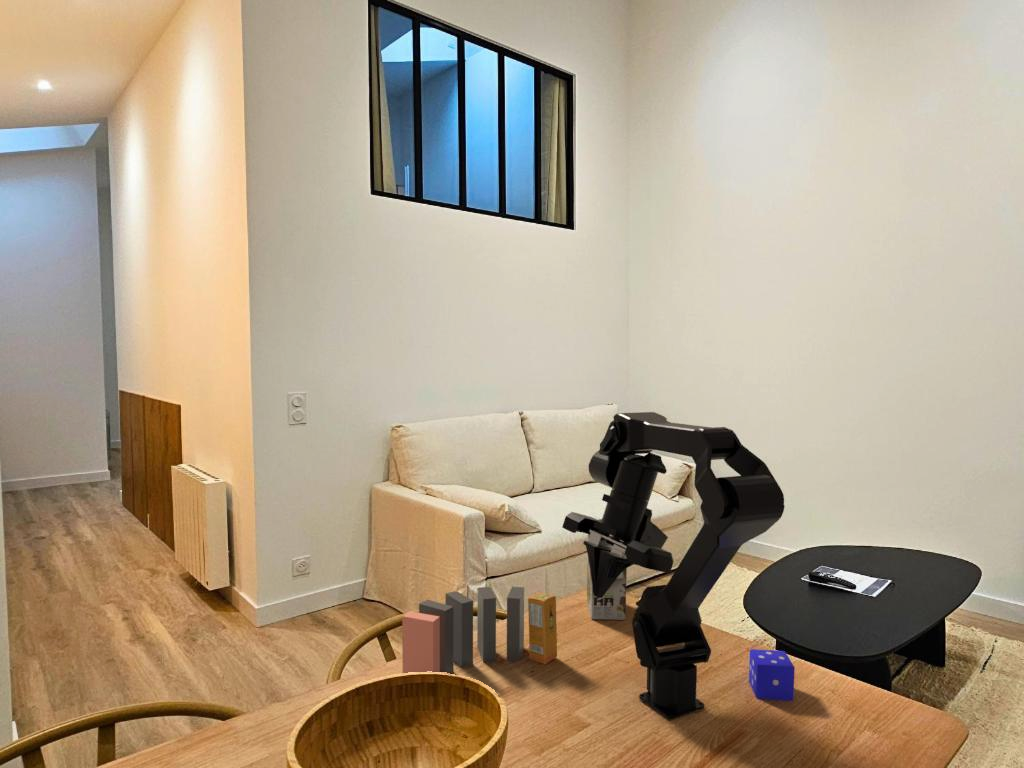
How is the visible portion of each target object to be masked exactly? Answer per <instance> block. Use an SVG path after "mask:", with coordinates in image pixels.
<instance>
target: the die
mask: <svg viewBox="0 0 1024 768" xmlns="http://www.w3.org/2000/svg"><path fill="white" fill-rule="evenodd" d="M748 669H749V670H748V683H749V685H750V687H751V690H752V692H753V693H754V696H755V698H756V699H759V700H760V699H761V700H771V701H772V700H774V701H789V702H790V701H791V702H793V701H794V697H795V696H794V694H795V693H794V692H795V690H794V689H795V666H794V664H793V662H792V660H791V659H790V658H789V656H788V654H787V653H786V651H785V650H772V649H755V648H754V649H753V648H751V649H749V665H748Z"/></svg>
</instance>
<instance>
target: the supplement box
mask: <svg viewBox="0 0 1024 768" xmlns="http://www.w3.org/2000/svg"><path fill="white" fill-rule="evenodd" d="M527 602H528V603H527V604H528V605H527V606H528V638H529V660H531V661H534V662H536V663H540V664H543V665H547V664H548V663H549V662H551V661H552V660H555V659H556V658H557V657H558V639H557V638H558V637H557V636H558V634H557V625H558V624H557V596H555V595H554V594H553V595H552V594H549V593H544V592H538V593H536V594H534V595H532V596H530V597H528V599H527Z"/></svg>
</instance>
